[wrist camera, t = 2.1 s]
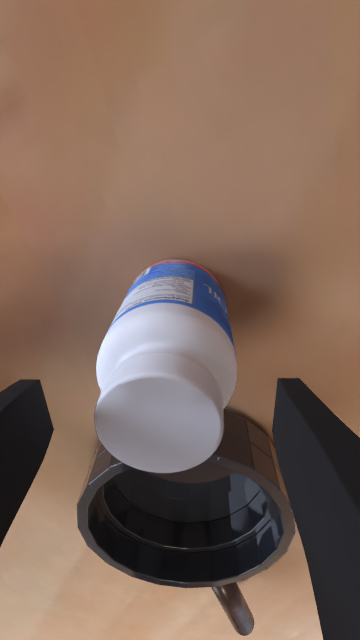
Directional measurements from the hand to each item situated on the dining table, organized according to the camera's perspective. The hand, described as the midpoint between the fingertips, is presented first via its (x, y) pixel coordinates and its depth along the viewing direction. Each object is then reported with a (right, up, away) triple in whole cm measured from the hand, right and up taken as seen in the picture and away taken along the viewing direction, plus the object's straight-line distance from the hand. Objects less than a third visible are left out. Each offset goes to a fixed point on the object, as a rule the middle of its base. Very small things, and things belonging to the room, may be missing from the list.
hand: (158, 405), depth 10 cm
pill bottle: (+1, +4, +9) cm, 10 cm away
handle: (+5, -19, +17) cm, 26 cm away
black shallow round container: (+1, -8, +15) cm, 17 cm away
